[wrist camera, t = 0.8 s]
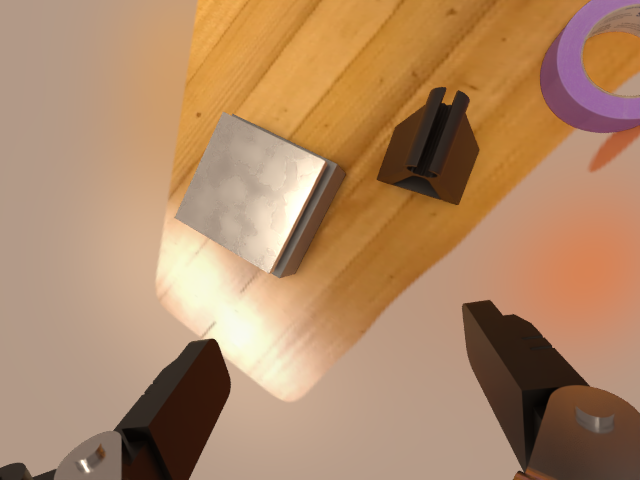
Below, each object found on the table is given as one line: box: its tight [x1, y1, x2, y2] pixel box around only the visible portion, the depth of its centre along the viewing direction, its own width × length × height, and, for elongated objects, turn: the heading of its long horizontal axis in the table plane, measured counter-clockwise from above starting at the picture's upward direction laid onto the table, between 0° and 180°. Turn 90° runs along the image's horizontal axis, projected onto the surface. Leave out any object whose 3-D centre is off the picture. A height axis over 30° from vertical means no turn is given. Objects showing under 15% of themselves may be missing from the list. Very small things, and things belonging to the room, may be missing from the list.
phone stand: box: [377, 87, 479, 205], centre depth 30 cm, size 9×6×12 cm, turn 70°
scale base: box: [232, 114, 346, 278], centre depth 37 cm, size 13×14×5 cm
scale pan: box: [175, 112, 328, 274], centre depth 33 cm, size 12×12×1 cm
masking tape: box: [540, 0, 640, 133], centre depth 30 cm, size 12×12×4 cm
